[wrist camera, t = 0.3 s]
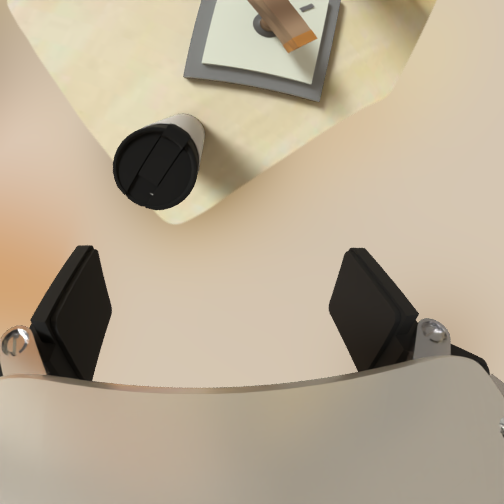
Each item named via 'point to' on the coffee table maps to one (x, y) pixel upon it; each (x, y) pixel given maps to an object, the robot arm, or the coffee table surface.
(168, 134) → the travel mug
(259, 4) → the t key
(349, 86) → the coffee table surface
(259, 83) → the cover
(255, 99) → the coffee table surface
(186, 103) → the coffee table surface
